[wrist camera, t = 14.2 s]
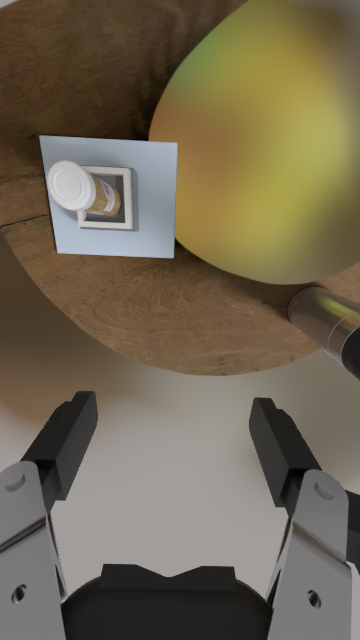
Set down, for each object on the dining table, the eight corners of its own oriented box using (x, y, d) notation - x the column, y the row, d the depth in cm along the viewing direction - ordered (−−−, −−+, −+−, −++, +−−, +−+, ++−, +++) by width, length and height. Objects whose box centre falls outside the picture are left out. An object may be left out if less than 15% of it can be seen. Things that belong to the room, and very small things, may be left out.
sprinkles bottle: (127, 205, 36) (99, 193, 23) (105, 222, 37) (66, 219, 24) (108, 177, 34) (68, 148, 22) (86, 195, 35) (35, 177, 23)
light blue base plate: (177, 144, 37) (177, 128, 31) (173, 257, 44) (172, 262, 38) (41, 137, 36) (15, 120, 31) (59, 252, 43) (41, 256, 37)
